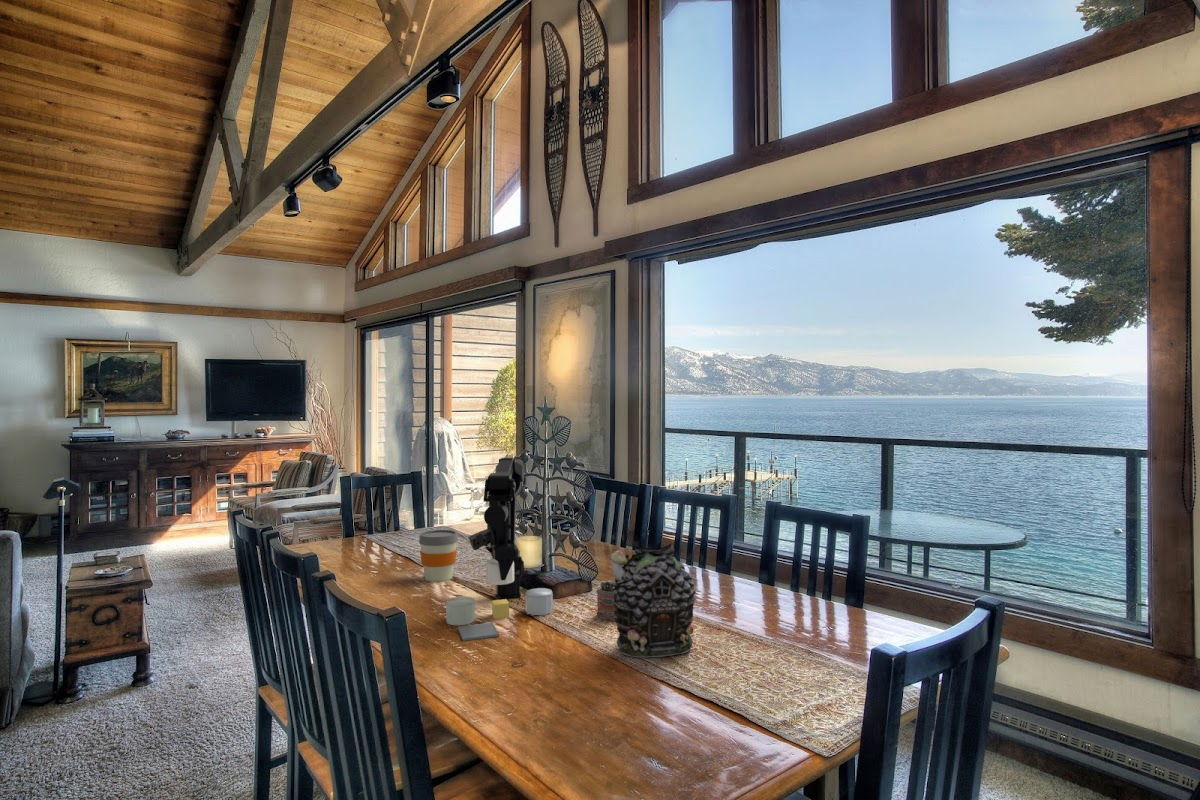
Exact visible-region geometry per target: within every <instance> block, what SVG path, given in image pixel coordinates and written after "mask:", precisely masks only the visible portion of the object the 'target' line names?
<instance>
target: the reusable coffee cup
mask: <svg viewBox="0 0 1200 800" xmlns="http://www.w3.org/2000/svg"><path fill="white" fill-rule="evenodd" d="M457 542H458V533H457V531H455V530H453V529H452V530H451V529H434V530H428V531H423V532H421V533H420V534H419V541H418V544H419V545H420V551H419V553H420V561H421V565H422V566H423V574H424V580H425V581H427V582H432V581H433V583H434V582H435V583H436V582H438V581H439V582H446V581H449V580H451V579H453V574H454V565H455V563H456V560H457V552H458V551H457V550H458V549H457Z"/></svg>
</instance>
